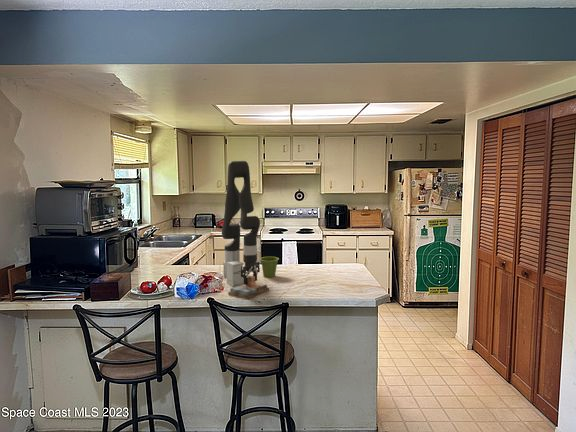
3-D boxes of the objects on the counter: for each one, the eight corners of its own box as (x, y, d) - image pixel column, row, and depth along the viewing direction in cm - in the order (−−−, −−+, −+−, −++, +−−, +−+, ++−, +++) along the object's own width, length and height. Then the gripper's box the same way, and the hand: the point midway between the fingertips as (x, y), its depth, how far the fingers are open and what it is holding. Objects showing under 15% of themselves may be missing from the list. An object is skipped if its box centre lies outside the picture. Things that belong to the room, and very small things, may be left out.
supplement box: (232, 286, 228) (232, 264, 226) (226, 283, 234) (226, 262, 232) (243, 284, 232) (243, 262, 231) (237, 281, 238) (237, 260, 236)
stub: (241, 288, 217) (240, 276, 216) (245, 287, 221) (245, 274, 220) (254, 291, 213) (254, 278, 212) (258, 289, 216) (258, 277, 215)
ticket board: (228, 294, 212) (228, 288, 211) (248, 286, 227) (248, 280, 227) (249, 299, 205) (249, 292, 204) (269, 290, 220) (269, 283, 220)
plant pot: (256, 277, 247) (256, 259, 245) (266, 273, 257) (266, 255, 256) (272, 279, 241) (272, 261, 240) (282, 275, 252) (282, 257, 250)
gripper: (252, 250, 223) (252, 278, 225) (236, 254, 210) (236, 284, 212) (263, 251, 219) (263, 280, 221) (248, 256, 207) (248, 286, 209)
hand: (250, 282), depth 217 cm, fingers open, 8 cm apart
